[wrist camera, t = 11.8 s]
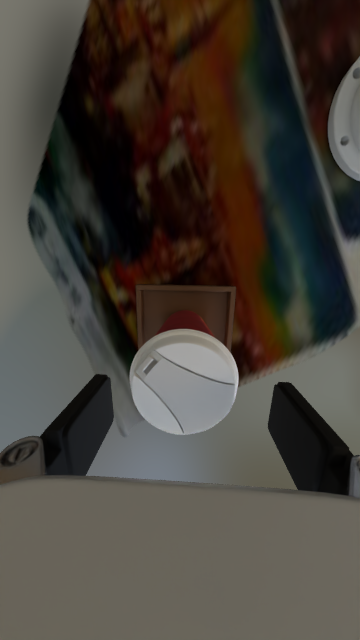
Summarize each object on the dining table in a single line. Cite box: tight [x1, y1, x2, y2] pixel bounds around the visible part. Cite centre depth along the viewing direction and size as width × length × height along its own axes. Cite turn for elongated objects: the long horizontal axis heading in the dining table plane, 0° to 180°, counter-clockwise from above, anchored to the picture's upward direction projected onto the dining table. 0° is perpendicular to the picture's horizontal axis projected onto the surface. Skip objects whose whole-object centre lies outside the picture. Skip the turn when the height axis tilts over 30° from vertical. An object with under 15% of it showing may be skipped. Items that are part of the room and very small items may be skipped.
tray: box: [136, 284, 236, 353], centre depth 25 cm, size 12×12×2 cm
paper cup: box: [130, 310, 239, 435], centre depth 19 cm, size 8×8×14 cm
